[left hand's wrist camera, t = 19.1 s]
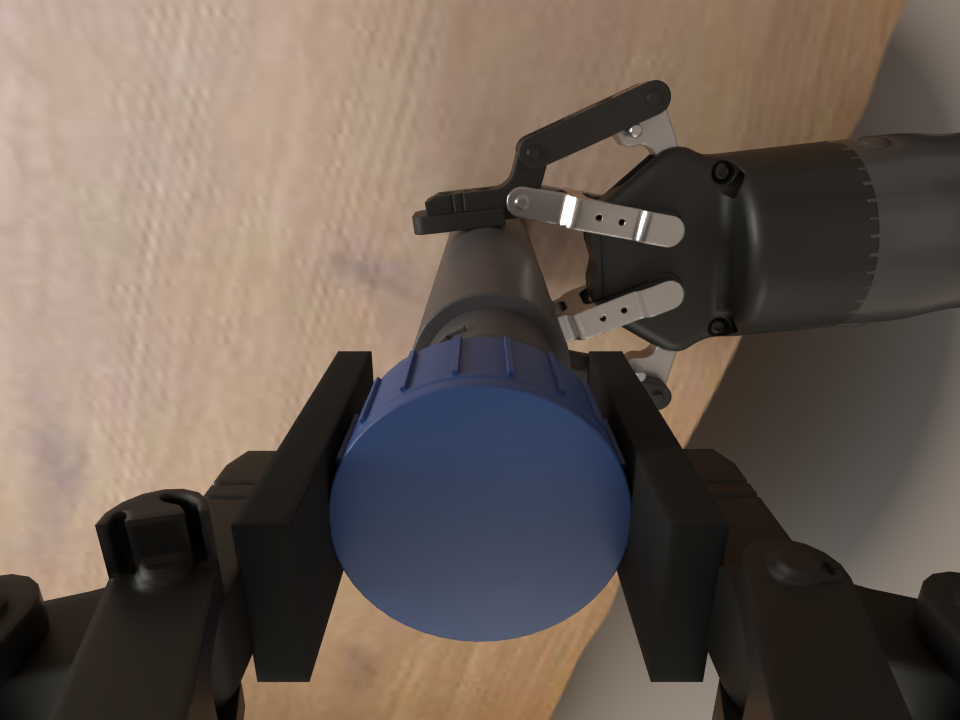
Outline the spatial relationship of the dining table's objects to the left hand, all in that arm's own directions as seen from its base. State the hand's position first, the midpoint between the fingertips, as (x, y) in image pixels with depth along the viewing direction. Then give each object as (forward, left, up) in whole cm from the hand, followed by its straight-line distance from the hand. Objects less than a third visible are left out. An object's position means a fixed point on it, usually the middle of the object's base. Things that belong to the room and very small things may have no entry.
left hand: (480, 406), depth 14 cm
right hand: (-1, +2, -13) cm, 13 cm away
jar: (0, 0, -20) cm, 20 cm away
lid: (0, 0, +4) cm, 4 cm away
